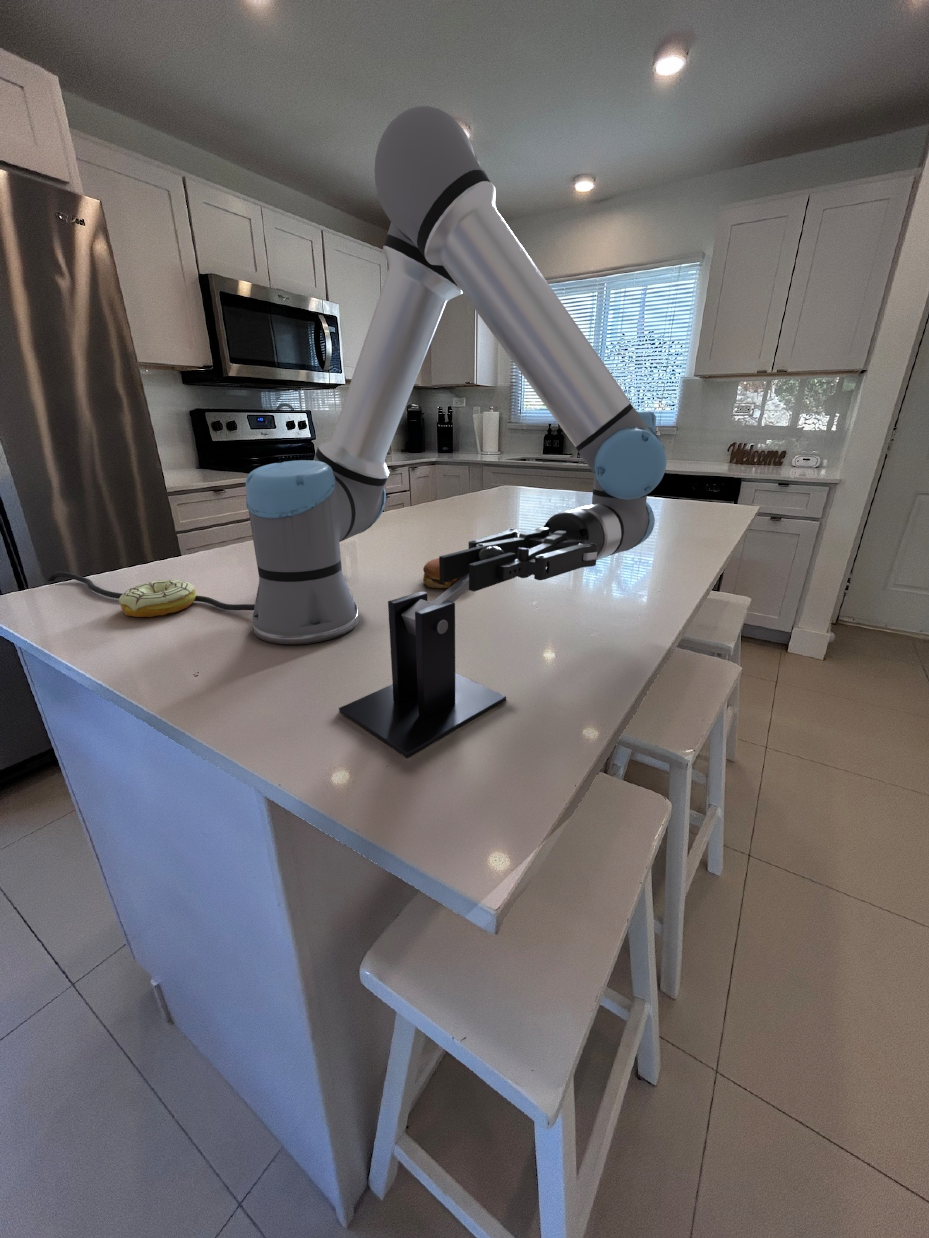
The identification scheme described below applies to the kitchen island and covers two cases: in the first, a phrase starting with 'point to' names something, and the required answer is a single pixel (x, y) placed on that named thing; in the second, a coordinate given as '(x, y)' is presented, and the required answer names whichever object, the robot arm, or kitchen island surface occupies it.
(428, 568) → the burger
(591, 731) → the kitchen island surface
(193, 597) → the decorated donut
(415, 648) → the black stand
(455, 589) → the lever handle
